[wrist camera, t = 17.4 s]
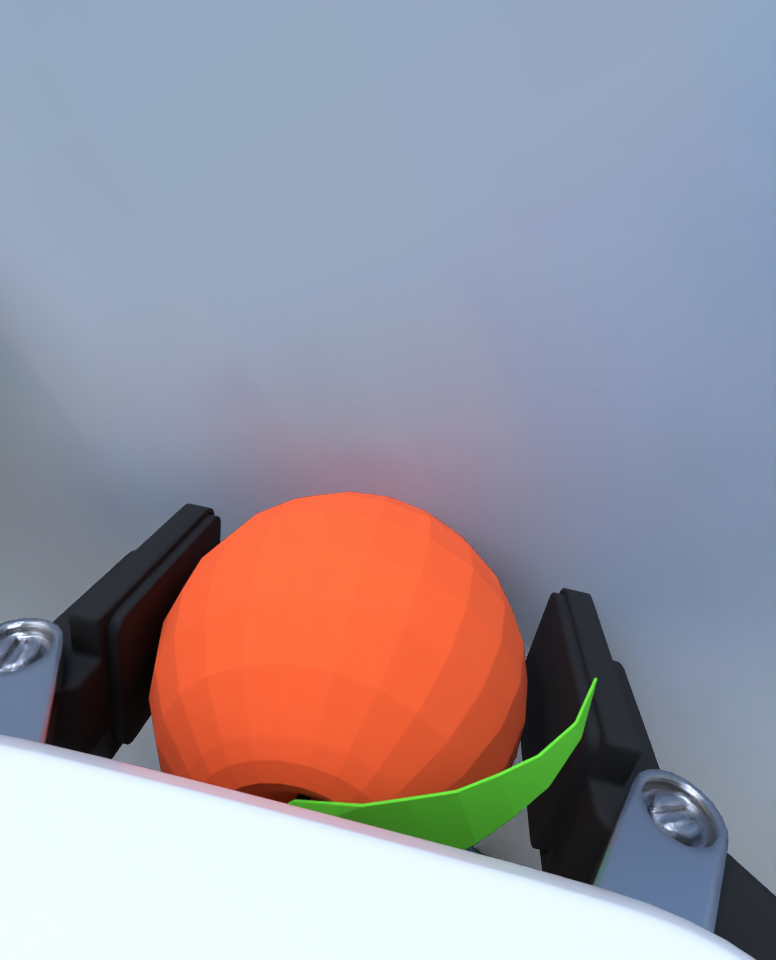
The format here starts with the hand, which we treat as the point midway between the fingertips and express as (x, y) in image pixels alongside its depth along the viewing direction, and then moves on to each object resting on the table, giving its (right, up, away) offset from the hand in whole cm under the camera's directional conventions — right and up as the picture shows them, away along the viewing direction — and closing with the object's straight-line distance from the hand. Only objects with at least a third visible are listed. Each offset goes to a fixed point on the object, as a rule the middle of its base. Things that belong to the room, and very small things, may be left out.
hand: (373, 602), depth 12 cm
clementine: (0, +1, +1) cm, 2 cm away
